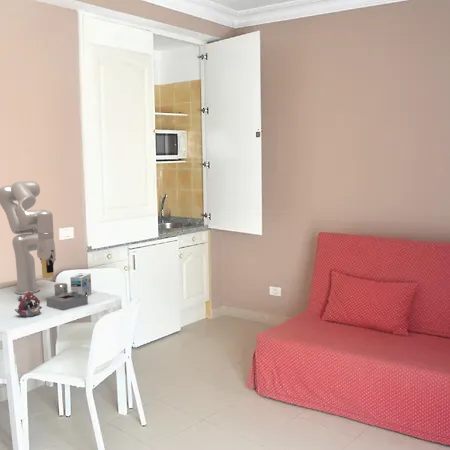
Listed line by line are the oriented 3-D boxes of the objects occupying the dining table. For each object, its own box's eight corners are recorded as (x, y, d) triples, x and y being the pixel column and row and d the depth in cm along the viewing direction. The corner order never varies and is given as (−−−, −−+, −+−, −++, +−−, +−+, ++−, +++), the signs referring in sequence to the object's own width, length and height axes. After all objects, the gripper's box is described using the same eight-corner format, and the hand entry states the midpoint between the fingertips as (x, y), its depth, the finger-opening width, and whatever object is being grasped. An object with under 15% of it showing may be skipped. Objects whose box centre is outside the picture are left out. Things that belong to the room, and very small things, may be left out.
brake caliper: (28, 314, 247) (16, 291, 250) (17, 326, 252) (6, 304, 255) (49, 308, 256) (37, 286, 259) (38, 320, 261) (27, 298, 265)
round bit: (52, 296, 290) (52, 284, 289) (63, 293, 295) (63, 282, 294) (58, 298, 286) (58, 286, 285) (70, 295, 290) (69, 284, 289)
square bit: (42, 277, 280) (41, 255, 278) (49, 275, 283) (48, 254, 281) (46, 278, 277) (45, 256, 276) (53, 276, 280) (52, 255, 279)
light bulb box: (83, 298, 284) (81, 277, 283) (71, 297, 286) (69, 277, 285) (92, 293, 295) (90, 273, 294) (80, 292, 296) (79, 273, 295)
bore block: (46, 305, 270) (46, 297, 270) (71, 299, 281) (70, 292, 280) (63, 310, 261) (62, 301, 261) (87, 303, 272) (87, 295, 271)
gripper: (30, 235, 280) (32, 271, 282) (48, 238, 269) (50, 275, 271) (43, 233, 285) (45, 268, 288) (61, 236, 275) (63, 272, 277)
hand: (47, 271), depth 280 cm, fingers closed on square bit, 4 cm apart
